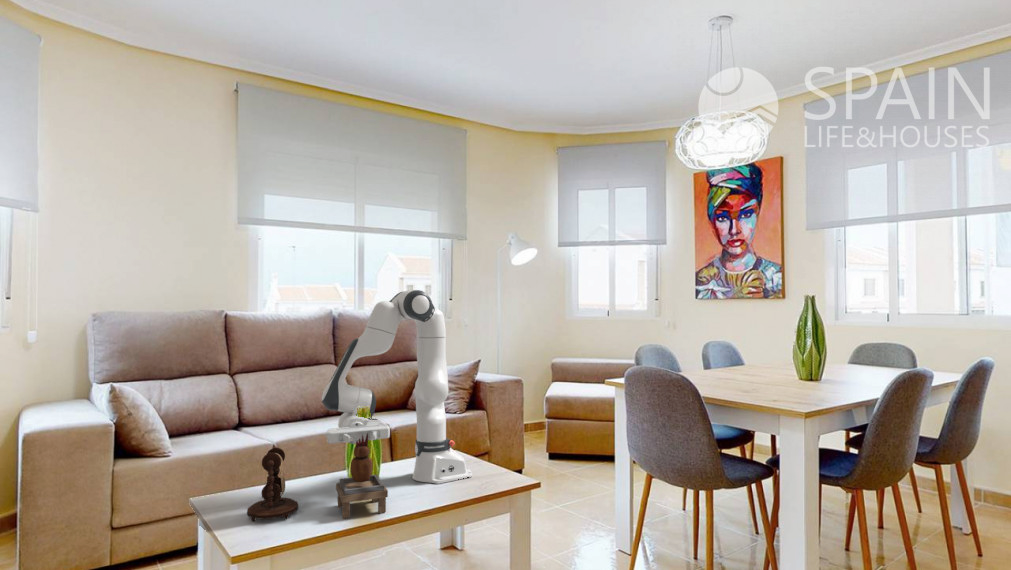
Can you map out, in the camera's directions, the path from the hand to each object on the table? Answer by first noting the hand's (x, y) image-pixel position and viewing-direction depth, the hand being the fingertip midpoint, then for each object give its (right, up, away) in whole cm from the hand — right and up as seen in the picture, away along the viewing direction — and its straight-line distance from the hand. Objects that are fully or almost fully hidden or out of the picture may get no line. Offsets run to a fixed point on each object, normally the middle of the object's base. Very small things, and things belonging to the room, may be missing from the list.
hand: (362, 438), depth 183 cm
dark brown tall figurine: (-27, -23, -5) cm, 35 cm away
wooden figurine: (0, -14, 0) cm, 14 cm away
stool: (0, -22, 0) cm, 23 cm away
